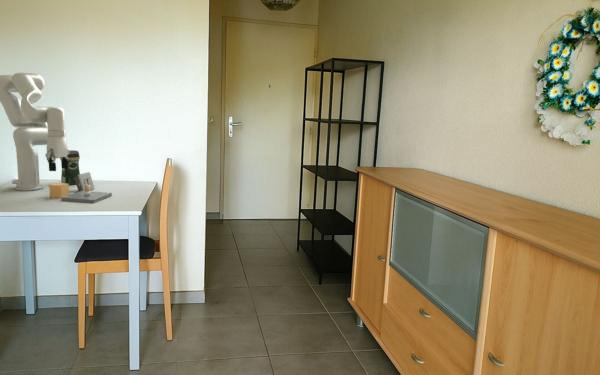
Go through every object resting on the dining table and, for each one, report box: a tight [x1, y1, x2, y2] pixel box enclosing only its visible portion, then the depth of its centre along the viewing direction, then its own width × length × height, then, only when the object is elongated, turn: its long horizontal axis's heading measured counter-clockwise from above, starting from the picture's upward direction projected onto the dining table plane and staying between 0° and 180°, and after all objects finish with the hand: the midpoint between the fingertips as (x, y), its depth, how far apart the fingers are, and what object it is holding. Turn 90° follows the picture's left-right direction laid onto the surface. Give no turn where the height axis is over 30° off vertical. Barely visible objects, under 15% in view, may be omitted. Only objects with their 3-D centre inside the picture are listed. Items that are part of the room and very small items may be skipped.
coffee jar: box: [59, 149, 81, 186], centre depth 257 cm, size 10×8×19 cm
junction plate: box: [60, 185, 113, 204], centre depth 226 cm, size 16×17×6 cm
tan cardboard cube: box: [48, 182, 70, 199], centre depth 227 cm, size 6×6×6 cm
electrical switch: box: [74, 171, 95, 192], centre depth 243 cm, size 9×5×9 cm, turn 171°
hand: (59, 169), depth 225 cm, fingers open, 9 cm apart
